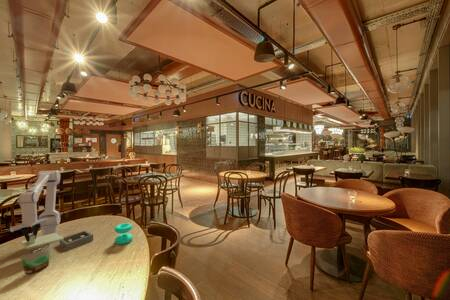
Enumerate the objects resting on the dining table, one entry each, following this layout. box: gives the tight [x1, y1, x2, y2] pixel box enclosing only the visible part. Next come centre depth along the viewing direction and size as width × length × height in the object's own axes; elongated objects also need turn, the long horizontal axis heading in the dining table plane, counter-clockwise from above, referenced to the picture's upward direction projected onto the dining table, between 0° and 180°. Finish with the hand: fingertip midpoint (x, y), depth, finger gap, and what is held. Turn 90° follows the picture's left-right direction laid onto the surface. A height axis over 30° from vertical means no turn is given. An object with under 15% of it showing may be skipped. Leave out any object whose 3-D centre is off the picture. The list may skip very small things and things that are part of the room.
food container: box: [20, 243, 52, 275], centre depth 101 cm, size 12×6×10 cm, turn 168°
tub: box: [58, 230, 94, 251], centre depth 127 cm, size 11×14×4 cm
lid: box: [20, 232, 64, 250], centre depth 113 cm, size 12×15×6 cm
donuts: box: [114, 222, 134, 245], centre depth 128 cm, size 10×10×10 cm
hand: (31, 239), depth 109 cm, fingers closed on lid, 2 cm apart
